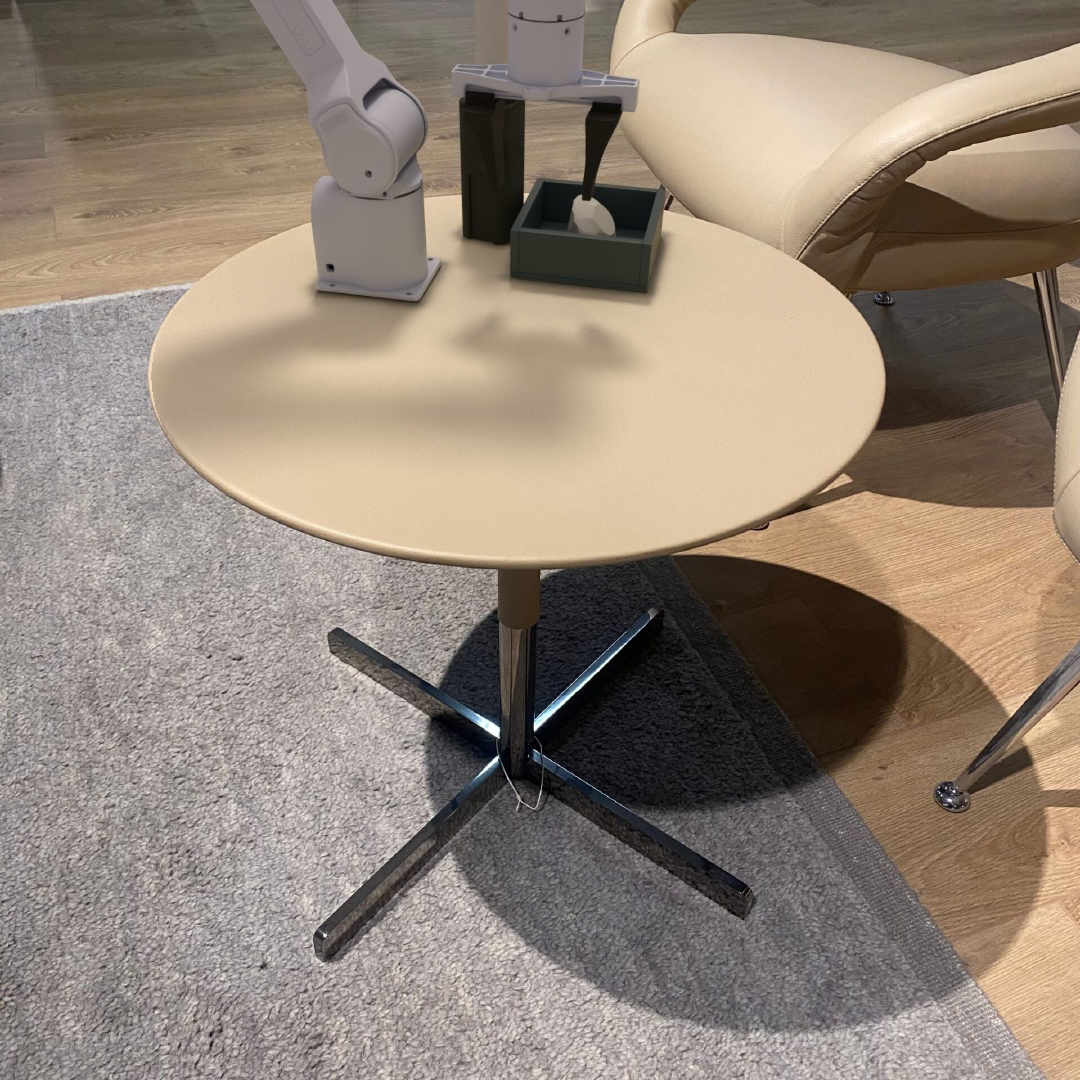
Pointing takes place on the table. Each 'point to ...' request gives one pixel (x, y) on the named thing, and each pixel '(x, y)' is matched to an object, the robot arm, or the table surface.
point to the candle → (498, 210)
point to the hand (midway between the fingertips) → (542, 192)
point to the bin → (587, 237)
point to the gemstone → (590, 219)
